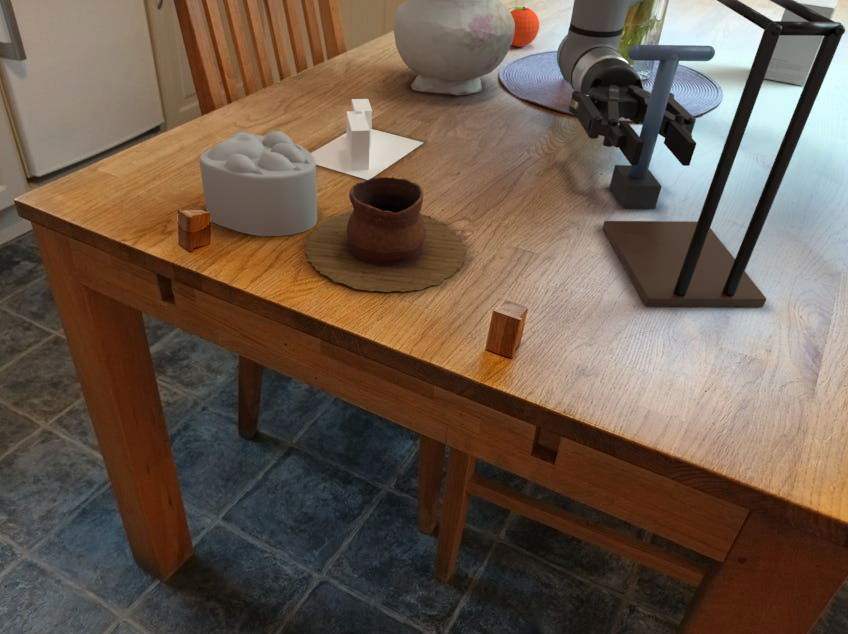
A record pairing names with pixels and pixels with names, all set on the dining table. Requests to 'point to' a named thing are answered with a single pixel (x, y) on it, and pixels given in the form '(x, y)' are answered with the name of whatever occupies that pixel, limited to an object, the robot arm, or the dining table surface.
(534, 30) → the clementine
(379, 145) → the napkin holder
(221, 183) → the lumpy-topped squat cylinder
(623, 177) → the brush
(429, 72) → the grey round vase
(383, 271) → the ceramic pot
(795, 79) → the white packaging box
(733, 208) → the dining table surface
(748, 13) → the desk lamp
